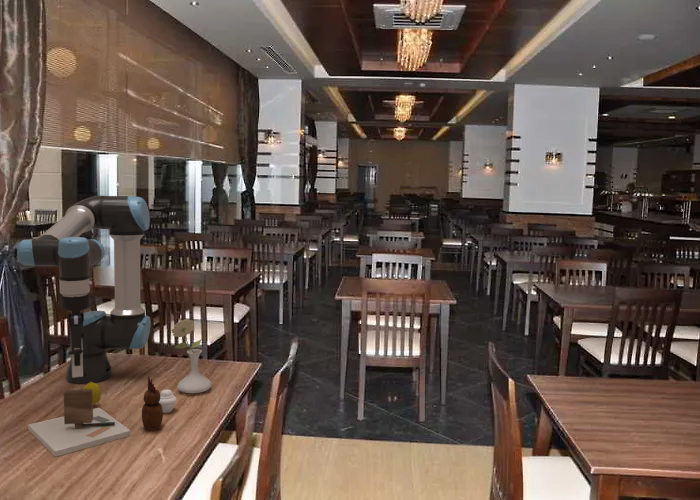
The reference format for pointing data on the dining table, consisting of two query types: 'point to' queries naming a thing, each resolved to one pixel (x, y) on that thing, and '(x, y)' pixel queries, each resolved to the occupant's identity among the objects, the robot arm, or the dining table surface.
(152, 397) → the wooden figurine
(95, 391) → the lemon
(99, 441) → the dial board
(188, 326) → the flower in vase
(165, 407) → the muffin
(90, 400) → the dark wooden block
